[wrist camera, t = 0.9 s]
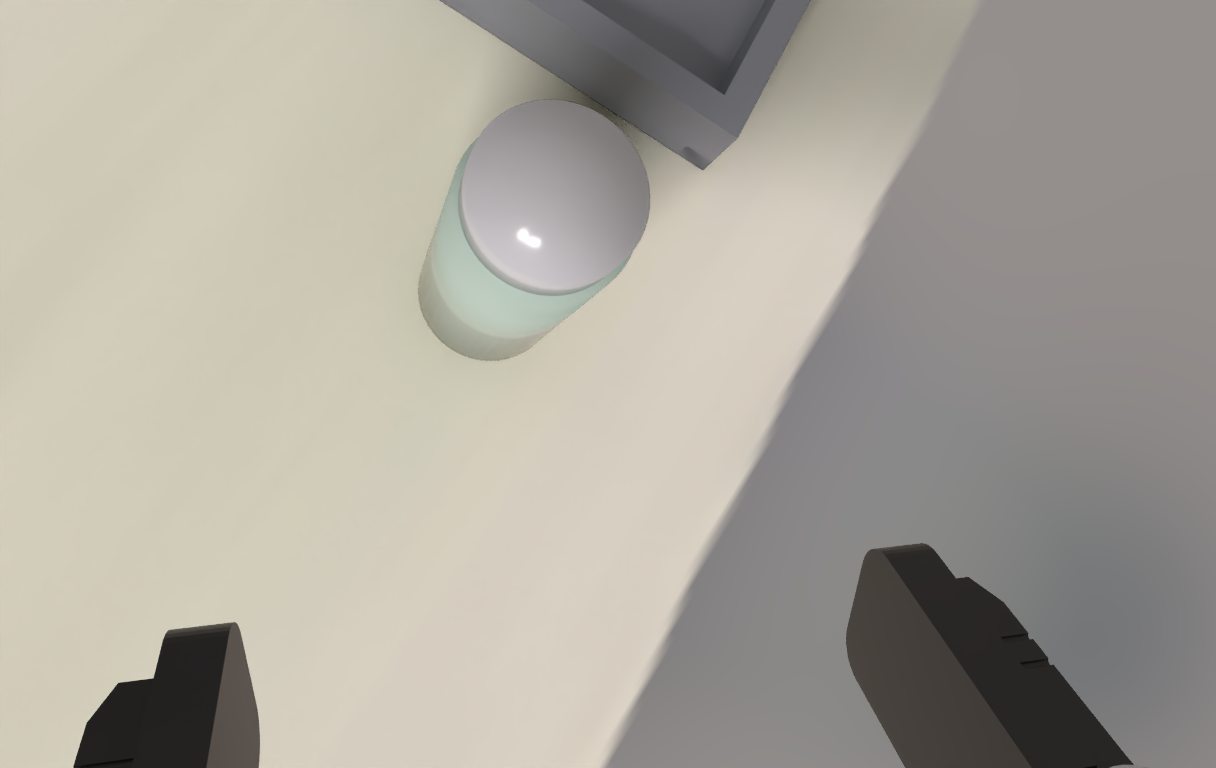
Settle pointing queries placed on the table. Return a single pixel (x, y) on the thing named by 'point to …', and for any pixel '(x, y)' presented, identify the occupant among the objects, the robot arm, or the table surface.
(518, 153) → the shaker
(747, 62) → the tray
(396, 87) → the table surface
